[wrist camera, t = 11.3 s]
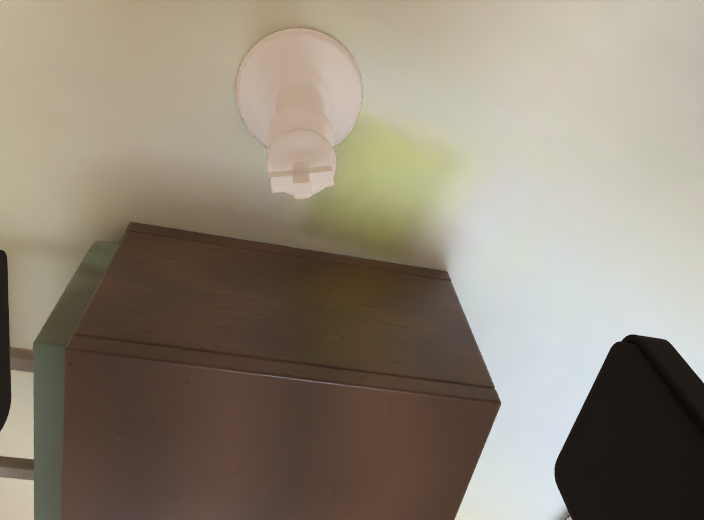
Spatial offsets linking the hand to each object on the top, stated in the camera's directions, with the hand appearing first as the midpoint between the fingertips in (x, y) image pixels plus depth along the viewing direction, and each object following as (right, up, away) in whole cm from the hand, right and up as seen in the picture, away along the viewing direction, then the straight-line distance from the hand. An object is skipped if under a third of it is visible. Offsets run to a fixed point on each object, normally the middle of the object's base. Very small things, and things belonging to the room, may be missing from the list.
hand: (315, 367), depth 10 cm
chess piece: (-1, +8, +16) cm, 18 cm away
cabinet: (-3, -3, +22) cm, 22 cm away
